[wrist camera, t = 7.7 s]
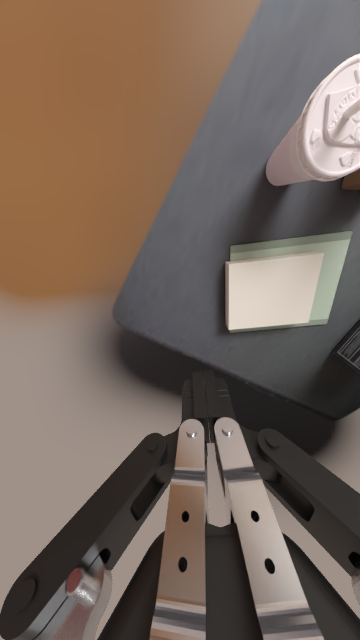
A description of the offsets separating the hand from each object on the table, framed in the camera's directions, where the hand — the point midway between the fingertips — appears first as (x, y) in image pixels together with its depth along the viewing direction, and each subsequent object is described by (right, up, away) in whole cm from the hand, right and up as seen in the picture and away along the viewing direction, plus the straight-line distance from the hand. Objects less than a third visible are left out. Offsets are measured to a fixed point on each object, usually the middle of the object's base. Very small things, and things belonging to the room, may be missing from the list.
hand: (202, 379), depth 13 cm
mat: (+14, +9, +15) cm, 22 cm away
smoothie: (+10, +23, +8) cm, 26 cm away
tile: (+5, +8, +14) cm, 17 cm away
